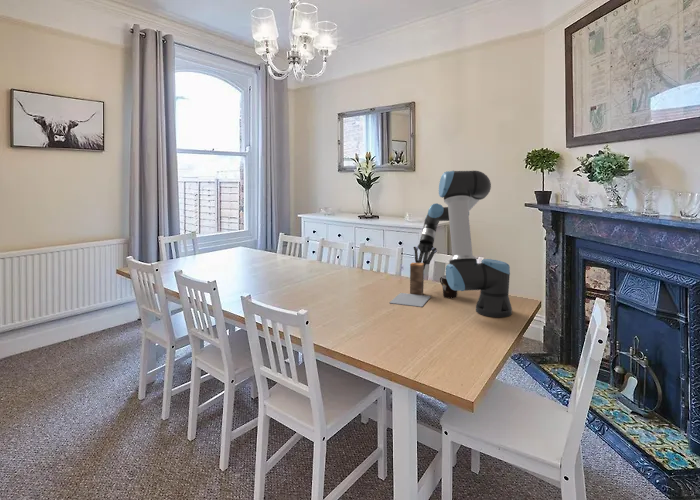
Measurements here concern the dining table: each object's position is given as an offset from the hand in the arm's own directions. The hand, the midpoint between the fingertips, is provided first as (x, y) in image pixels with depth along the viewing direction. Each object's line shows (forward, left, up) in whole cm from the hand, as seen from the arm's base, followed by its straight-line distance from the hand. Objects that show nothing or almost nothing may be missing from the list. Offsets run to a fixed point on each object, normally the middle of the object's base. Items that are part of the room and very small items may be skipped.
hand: (419, 274), depth 212 cm
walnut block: (0, +6, -9) cm, 11 cm away
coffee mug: (-16, +3, -9) cm, 19 cm away
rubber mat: (0, +17, -9) cm, 19 cm away
